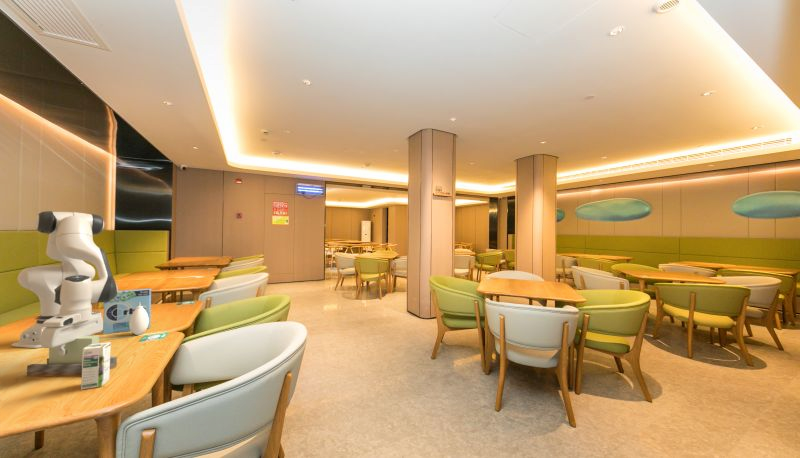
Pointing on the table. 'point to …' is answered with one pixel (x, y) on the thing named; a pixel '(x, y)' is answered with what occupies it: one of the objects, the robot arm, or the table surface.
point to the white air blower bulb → (139, 321)
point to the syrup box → (95, 365)
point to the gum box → (125, 309)
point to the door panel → (72, 351)
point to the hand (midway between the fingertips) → (74, 350)
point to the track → (60, 369)
